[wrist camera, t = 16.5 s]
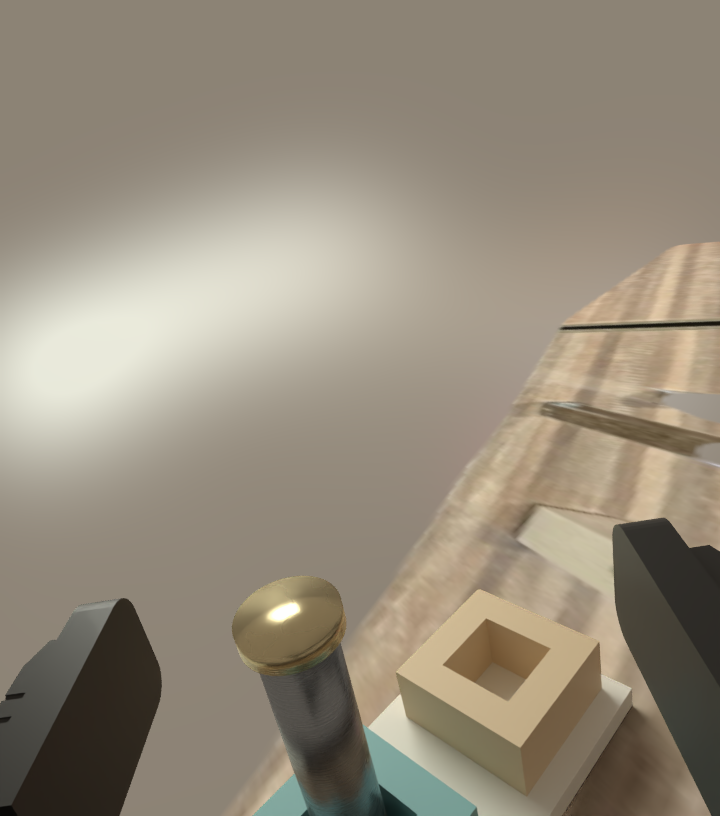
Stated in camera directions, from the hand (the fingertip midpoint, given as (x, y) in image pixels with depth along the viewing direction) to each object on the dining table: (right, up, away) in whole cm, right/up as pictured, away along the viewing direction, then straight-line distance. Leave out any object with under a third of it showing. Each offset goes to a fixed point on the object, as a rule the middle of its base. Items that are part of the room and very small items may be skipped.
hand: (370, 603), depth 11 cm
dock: (+5, -20, +28) cm, 34 cm away
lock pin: (0, -21, +23) cm, 32 cm away
